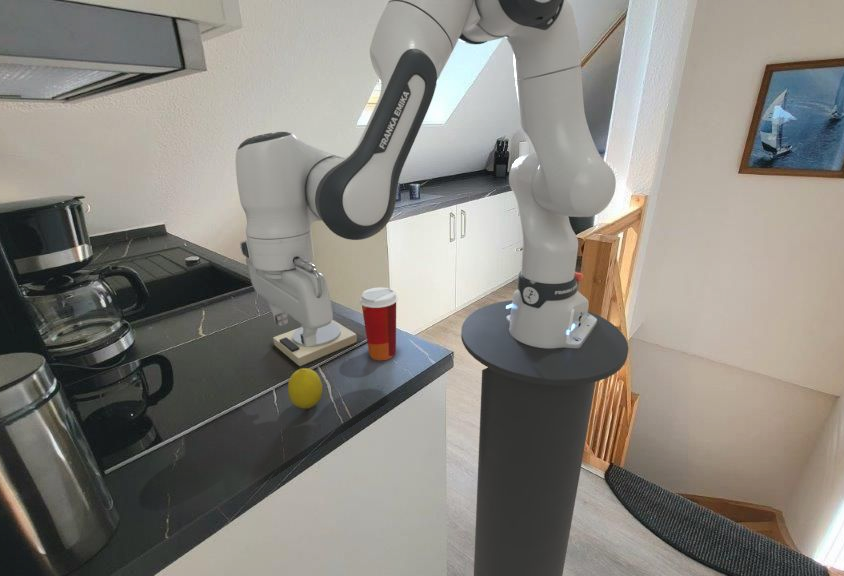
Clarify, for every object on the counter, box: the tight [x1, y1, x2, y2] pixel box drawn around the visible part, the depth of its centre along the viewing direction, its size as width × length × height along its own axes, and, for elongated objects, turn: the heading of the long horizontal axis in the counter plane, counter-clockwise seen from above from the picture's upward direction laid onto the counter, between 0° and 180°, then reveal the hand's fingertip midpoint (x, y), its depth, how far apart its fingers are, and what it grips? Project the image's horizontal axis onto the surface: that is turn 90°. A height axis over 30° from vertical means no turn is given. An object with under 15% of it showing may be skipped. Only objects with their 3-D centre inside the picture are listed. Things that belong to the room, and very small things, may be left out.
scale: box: [272, 319, 358, 367], centre depth 90 cm, size 14×12×3 cm
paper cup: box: [359, 286, 399, 361], centre depth 84 cm, size 8×8×14 cm
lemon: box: [287, 367, 323, 409], centre depth 69 cm, size 6×6×8 cm
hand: (294, 333), depth 65 cm, fingers open, 8 cm apart
